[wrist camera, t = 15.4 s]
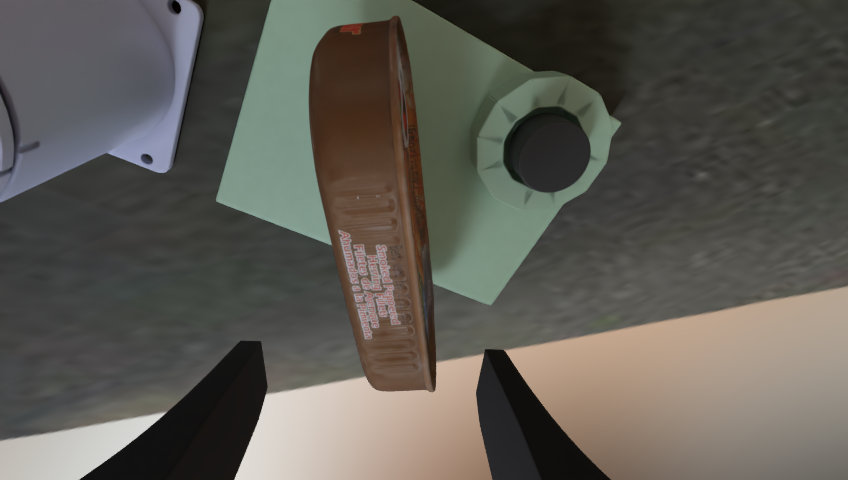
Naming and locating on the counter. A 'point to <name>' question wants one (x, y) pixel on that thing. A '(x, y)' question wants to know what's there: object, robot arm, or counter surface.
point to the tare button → (549, 152)
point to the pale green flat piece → (438, 136)
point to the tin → (375, 198)
